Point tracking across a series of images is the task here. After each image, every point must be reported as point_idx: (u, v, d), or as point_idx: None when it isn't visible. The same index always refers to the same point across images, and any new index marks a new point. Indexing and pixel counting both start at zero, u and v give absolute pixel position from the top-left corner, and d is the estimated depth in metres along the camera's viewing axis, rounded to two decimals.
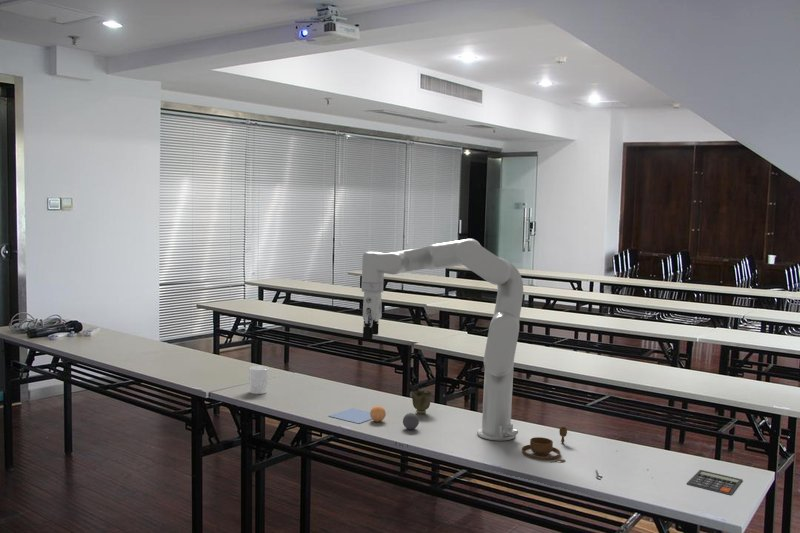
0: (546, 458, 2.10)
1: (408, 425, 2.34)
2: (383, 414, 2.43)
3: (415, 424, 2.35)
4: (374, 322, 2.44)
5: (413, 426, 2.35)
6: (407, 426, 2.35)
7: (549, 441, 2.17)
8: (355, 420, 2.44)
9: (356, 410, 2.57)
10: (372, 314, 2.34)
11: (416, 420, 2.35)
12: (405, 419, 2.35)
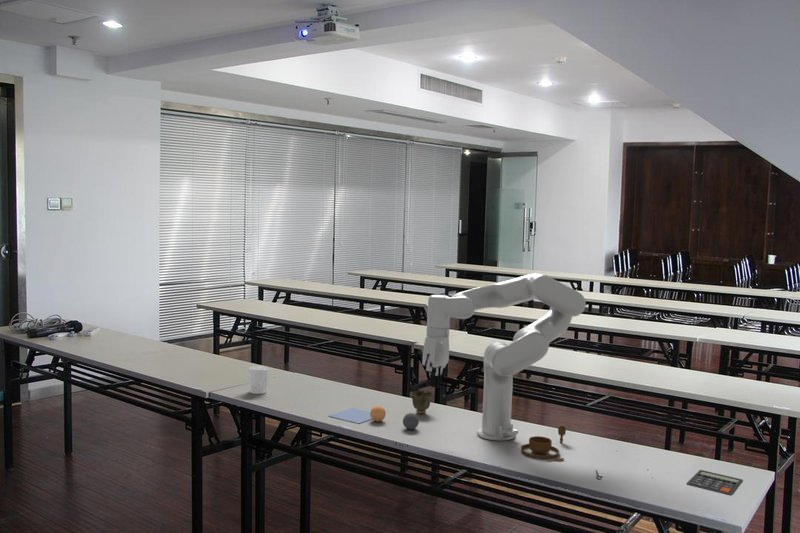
0: (545, 457, 2.11)
1: (408, 425, 2.34)
2: (383, 414, 2.43)
3: (415, 424, 2.35)
4: None
5: (413, 426, 2.35)
6: (407, 426, 2.35)
7: (548, 440, 2.18)
8: (355, 420, 2.44)
9: (356, 410, 2.57)
10: None
11: (416, 420, 2.35)
12: (405, 419, 2.35)
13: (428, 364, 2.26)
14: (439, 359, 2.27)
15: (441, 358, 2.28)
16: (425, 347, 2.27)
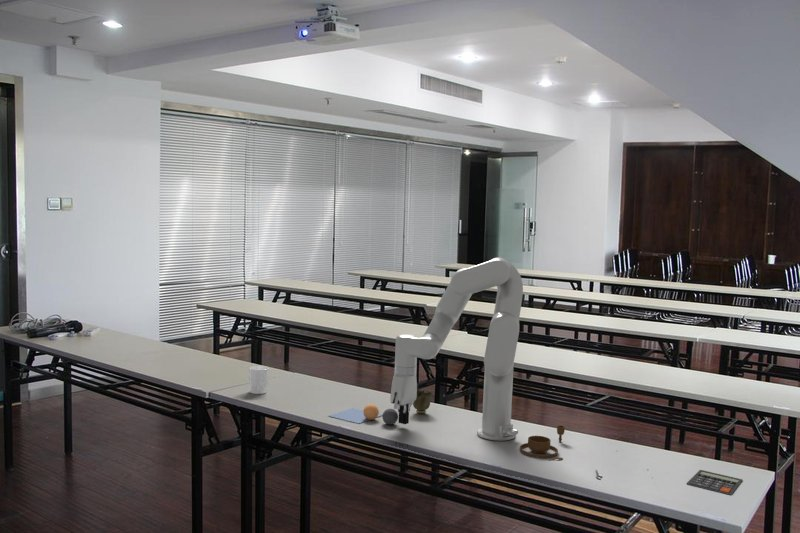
0: (544, 456, 2.12)
1: (384, 414, 2.40)
2: (373, 405, 2.46)
3: (383, 413, 2.42)
4: None
5: (384, 412, 2.41)
6: (386, 414, 2.40)
7: (547, 439, 2.19)
8: (355, 420, 2.44)
9: (356, 410, 2.57)
10: None
11: None
12: (386, 421, 2.40)
13: (396, 402, 2.34)
14: (406, 397, 2.35)
15: (408, 396, 2.36)
16: (393, 385, 2.35)
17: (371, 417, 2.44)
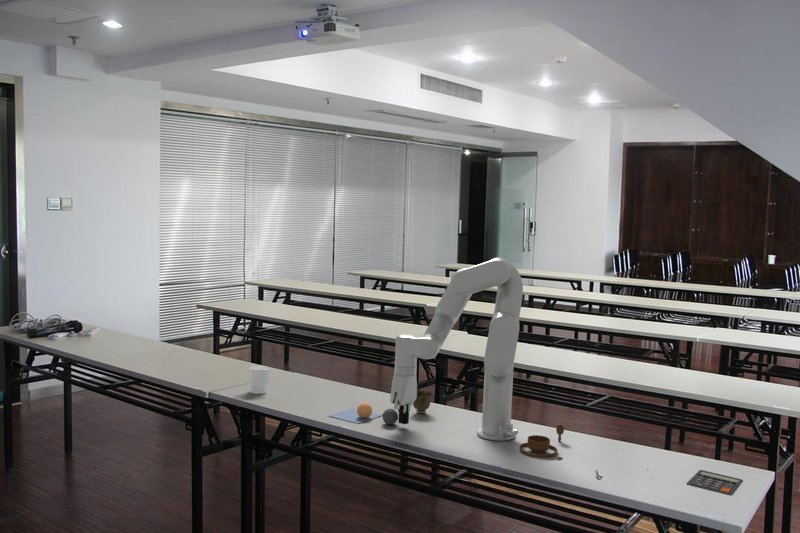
0: (543, 456, 2.12)
1: (384, 414, 2.40)
2: (360, 404, 2.49)
3: (383, 413, 2.42)
4: None
5: (384, 412, 2.41)
6: (386, 414, 2.40)
7: (546, 439, 2.19)
8: (355, 420, 2.44)
9: (356, 410, 2.57)
10: None
11: None
12: (386, 421, 2.40)
13: (396, 402, 2.34)
14: (406, 397, 2.35)
15: (409, 396, 2.36)
16: (393, 385, 2.35)
17: (365, 410, 2.46)
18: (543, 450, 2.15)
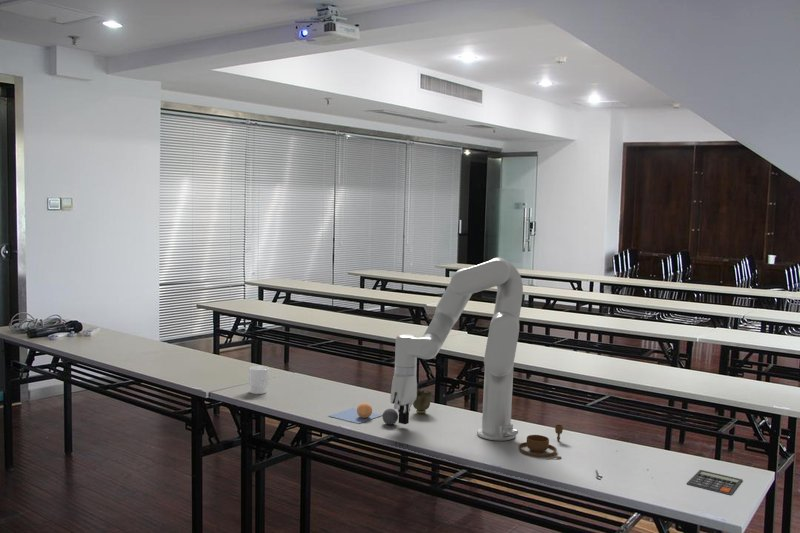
0: (542, 455, 2.13)
1: (384, 414, 2.40)
2: (360, 404, 2.49)
3: (383, 413, 2.42)
4: None
5: (384, 412, 2.41)
6: (386, 414, 2.40)
7: (545, 438, 2.20)
8: (355, 420, 2.44)
9: (356, 410, 2.57)
10: None
11: None
12: (386, 421, 2.40)
13: (396, 402, 2.34)
14: (406, 397, 2.35)
15: (409, 396, 2.36)
16: (393, 385, 2.35)
17: (365, 410, 2.46)
18: (542, 449, 2.16)
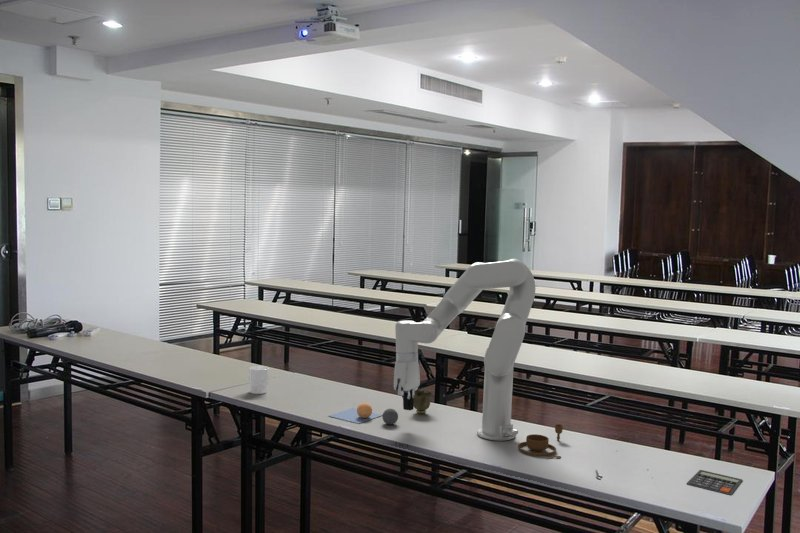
0: (542, 455, 2.13)
1: (384, 414, 2.40)
2: (360, 404, 2.49)
3: (383, 413, 2.42)
4: None
5: (384, 412, 2.41)
6: (386, 414, 2.40)
7: (545, 438, 2.20)
8: (355, 420, 2.44)
9: (356, 410, 2.57)
10: None
11: None
12: (386, 421, 2.40)
13: (399, 388, 2.34)
14: (410, 383, 2.35)
15: (412, 381, 2.36)
16: (395, 372, 2.34)
17: (365, 410, 2.46)
18: (542, 449, 2.16)
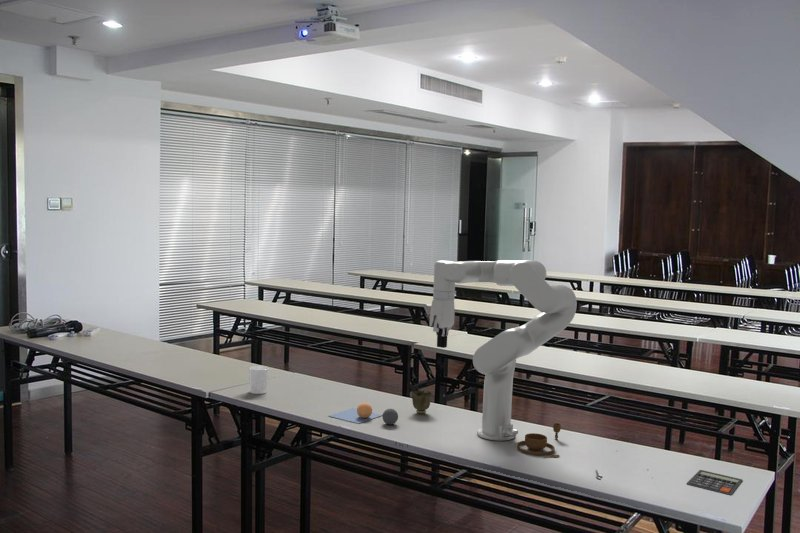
0: (541, 453, 2.14)
1: (384, 414, 2.40)
2: (360, 404, 2.49)
3: (383, 413, 2.42)
4: None
5: (384, 412, 2.41)
6: (386, 414, 2.40)
7: (543, 437, 2.21)
8: (355, 420, 2.44)
9: (356, 410, 2.57)
10: None
11: None
12: (386, 421, 2.40)
13: (435, 325, 2.40)
14: (445, 320, 2.41)
15: (447, 320, 2.42)
16: (432, 309, 2.41)
17: (365, 410, 2.46)
18: (540, 448, 2.17)
